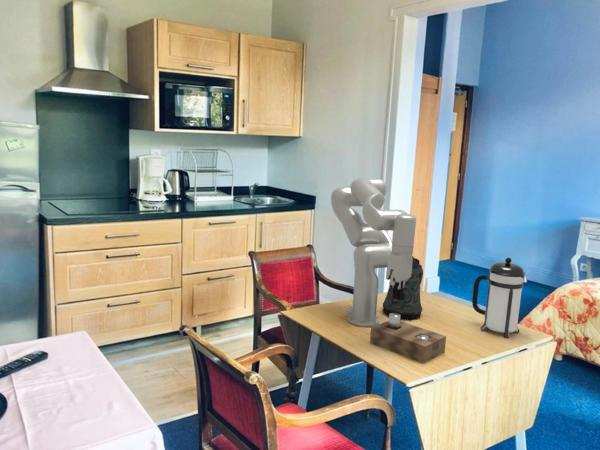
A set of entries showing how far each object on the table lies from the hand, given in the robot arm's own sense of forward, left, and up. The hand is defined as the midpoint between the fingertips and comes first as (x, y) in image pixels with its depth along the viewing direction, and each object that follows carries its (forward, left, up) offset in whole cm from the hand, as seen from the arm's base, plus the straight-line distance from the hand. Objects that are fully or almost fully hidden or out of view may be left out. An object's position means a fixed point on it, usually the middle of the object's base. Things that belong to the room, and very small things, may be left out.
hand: (397, 298), depth 183 cm
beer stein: (-16, +31, -17) cm, 39 cm away
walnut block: (+6, 0, -17) cm, 18 cm away
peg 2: (+12, 0, -17) cm, 20 cm away
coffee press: (+20, +43, -17) cm, 50 cm away
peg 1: (0, 0, -12) cm, 12 cm away
